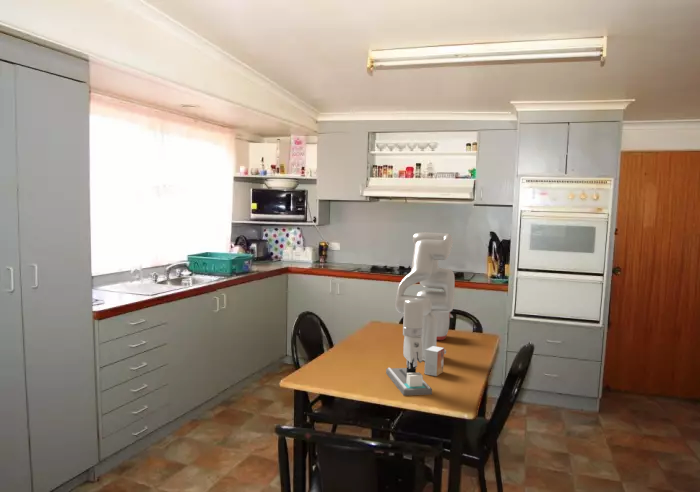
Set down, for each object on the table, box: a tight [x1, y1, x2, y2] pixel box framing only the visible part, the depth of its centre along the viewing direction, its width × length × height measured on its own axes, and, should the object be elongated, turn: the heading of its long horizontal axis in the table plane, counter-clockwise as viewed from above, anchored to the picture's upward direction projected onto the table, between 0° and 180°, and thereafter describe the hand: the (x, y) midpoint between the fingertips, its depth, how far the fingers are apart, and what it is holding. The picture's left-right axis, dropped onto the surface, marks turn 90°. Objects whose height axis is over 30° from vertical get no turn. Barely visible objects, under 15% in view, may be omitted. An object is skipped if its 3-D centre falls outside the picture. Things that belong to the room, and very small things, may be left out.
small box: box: [424, 345, 445, 377], centre depth 206 cm, size 8×6×10 cm
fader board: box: [385, 367, 433, 396], centre depth 193 cm, size 11×25×2 cm, turn 11°
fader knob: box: [406, 371, 424, 387], centre depth 185 cm, size 5×4×4 cm
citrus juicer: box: [433, 312, 454, 341], centre depth 265 cm, size 16×17×20 cm
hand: (410, 378), depth 189 cm, fingers closed
